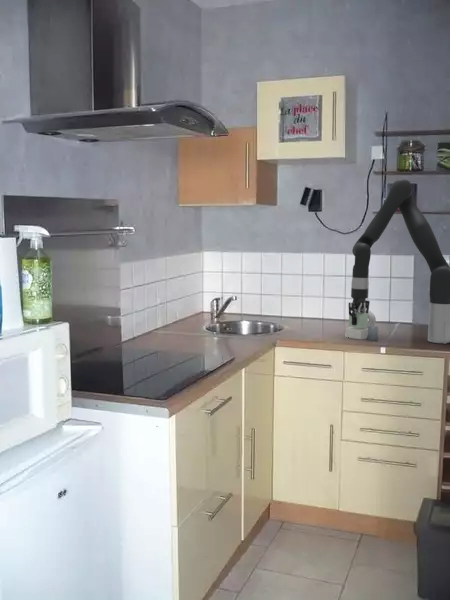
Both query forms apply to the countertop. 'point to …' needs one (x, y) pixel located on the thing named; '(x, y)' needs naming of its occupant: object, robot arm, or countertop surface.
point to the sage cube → (359, 320)
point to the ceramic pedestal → (356, 333)
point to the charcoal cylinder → (372, 333)
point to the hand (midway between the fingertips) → (358, 324)
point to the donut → (371, 319)
